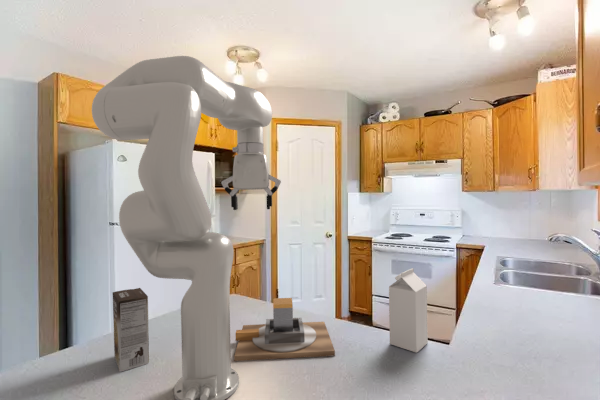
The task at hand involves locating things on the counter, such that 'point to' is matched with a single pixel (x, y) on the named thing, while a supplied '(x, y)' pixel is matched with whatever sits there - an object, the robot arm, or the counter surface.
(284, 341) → the rosette board
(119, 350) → the coffee box
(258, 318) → the counter surface
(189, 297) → the robot arm
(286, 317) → the grey orange block
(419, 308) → the milk carton
